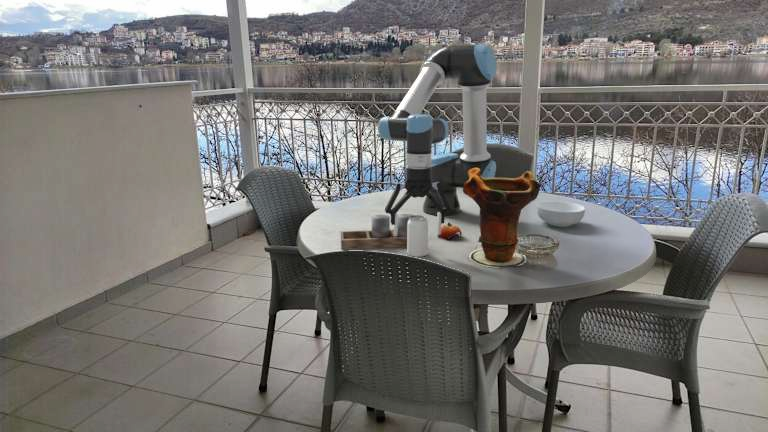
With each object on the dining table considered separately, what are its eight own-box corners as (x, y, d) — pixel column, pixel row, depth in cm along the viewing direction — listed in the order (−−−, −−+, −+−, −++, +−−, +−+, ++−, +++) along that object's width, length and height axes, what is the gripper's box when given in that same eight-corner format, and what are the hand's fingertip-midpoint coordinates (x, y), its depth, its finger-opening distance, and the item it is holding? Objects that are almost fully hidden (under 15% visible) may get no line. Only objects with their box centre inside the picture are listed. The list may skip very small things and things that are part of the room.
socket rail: (417, 236, 184) (417, 212, 181) (422, 245, 175) (422, 219, 172) (340, 239, 181) (340, 214, 178) (341, 248, 172) (340, 222, 169)
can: (413, 258, 163) (414, 221, 160) (403, 252, 169) (403, 216, 165) (431, 255, 166) (432, 218, 163) (420, 249, 171) (421, 213, 168)
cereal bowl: (590, 223, 198) (592, 205, 196) (571, 234, 186) (573, 214, 184) (548, 215, 209) (549, 198, 207) (527, 224, 197) (529, 206, 195)
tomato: (464, 230, 186) (459, 219, 181) (463, 247, 183) (458, 236, 177) (442, 231, 189) (437, 220, 184) (440, 247, 186) (435, 237, 180)
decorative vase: (549, 267, 155) (552, 174, 147) (472, 274, 153) (471, 180, 145) (525, 244, 175) (527, 160, 167) (456, 250, 173) (455, 166, 165)
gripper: (378, 169, 155) (378, 238, 160) (462, 168, 157) (459, 236, 163) (376, 165, 162) (376, 231, 168) (456, 164, 164) (453, 229, 170)
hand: (417, 234), depth 165 cm, fingers open, 13 cm apart
